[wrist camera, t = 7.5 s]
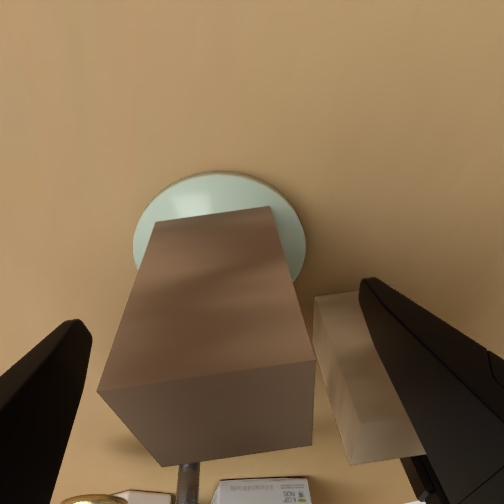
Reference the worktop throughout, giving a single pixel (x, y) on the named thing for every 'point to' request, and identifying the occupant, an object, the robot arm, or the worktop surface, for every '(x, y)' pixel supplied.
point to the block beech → (359, 384)
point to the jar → (145, 497)
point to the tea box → (263, 491)
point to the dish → (223, 209)
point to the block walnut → (213, 343)
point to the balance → (184, 495)
